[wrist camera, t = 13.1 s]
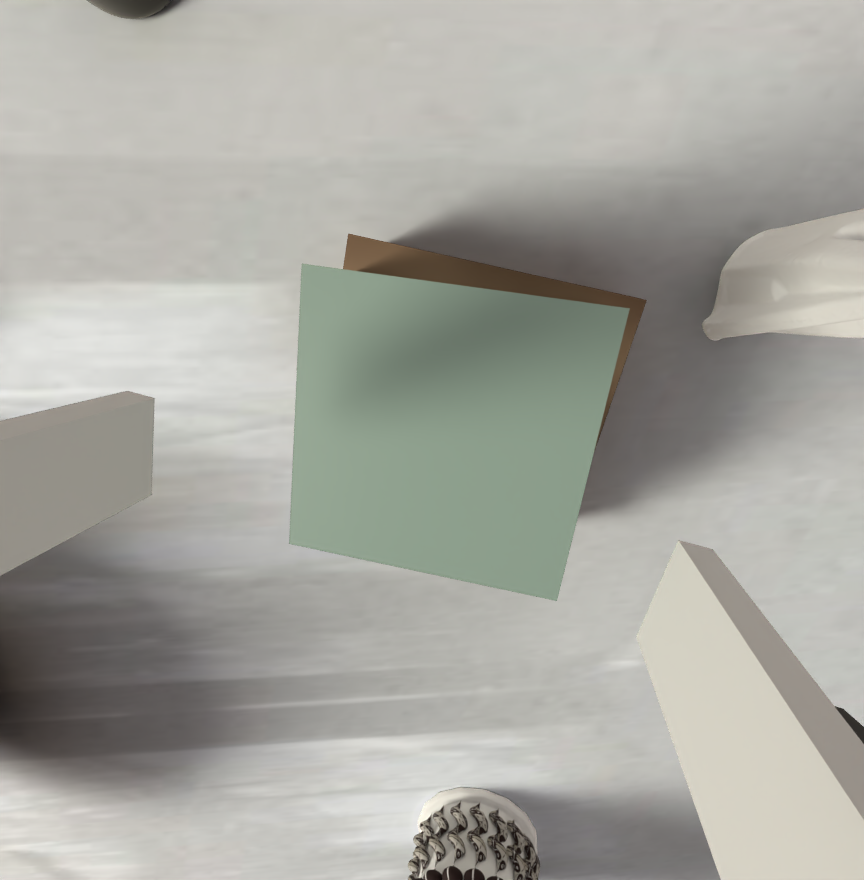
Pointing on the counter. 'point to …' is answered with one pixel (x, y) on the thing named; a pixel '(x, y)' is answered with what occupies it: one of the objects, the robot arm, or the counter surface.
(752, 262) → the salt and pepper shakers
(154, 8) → the supplement bottle
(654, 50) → the counter surface
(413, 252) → the walnut base block
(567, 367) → the sage top block
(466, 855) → the decorative candle
